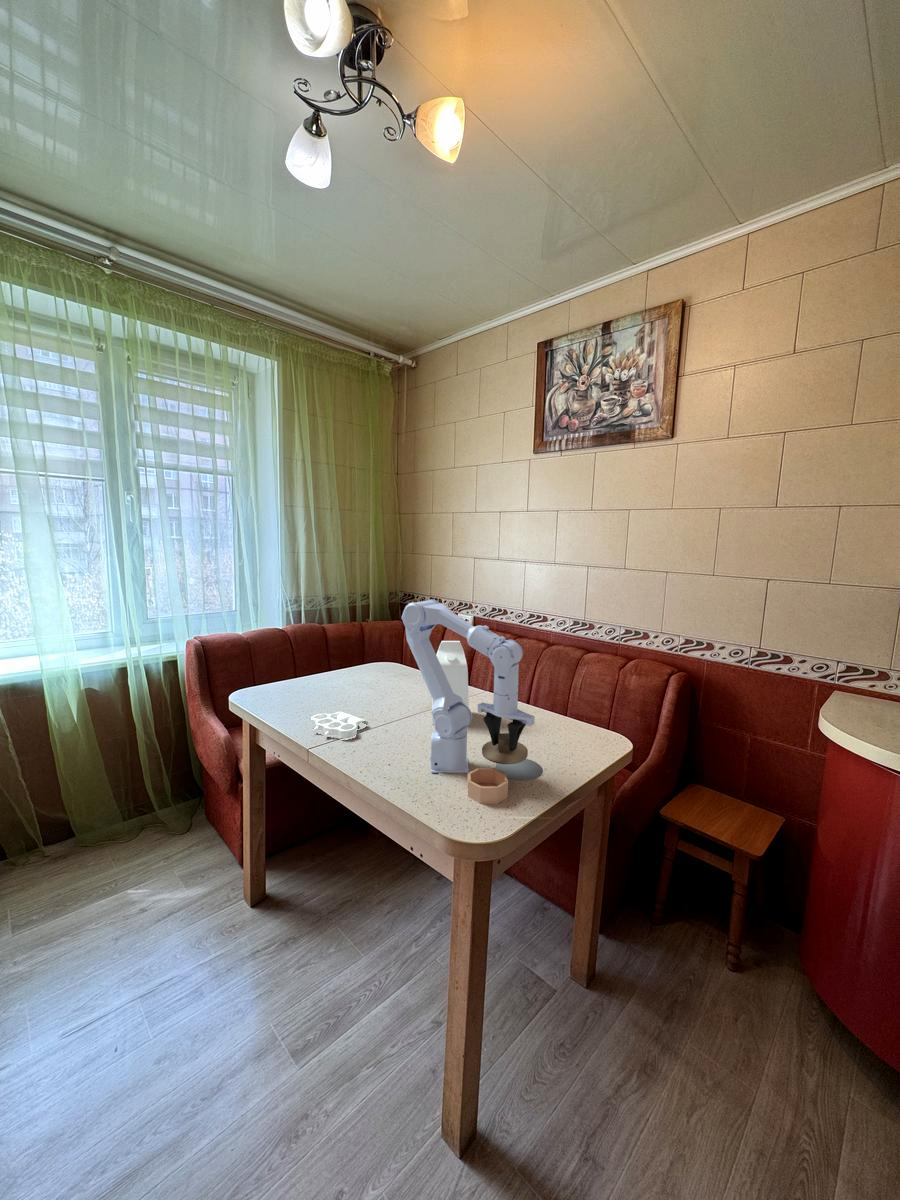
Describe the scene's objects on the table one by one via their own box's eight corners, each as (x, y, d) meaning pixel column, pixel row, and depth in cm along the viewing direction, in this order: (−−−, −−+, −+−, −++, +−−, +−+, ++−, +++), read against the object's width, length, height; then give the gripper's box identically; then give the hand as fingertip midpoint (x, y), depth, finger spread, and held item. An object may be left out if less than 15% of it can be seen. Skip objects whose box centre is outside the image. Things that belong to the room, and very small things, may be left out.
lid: (483, 764, 103) (483, 746, 103) (480, 742, 114) (480, 726, 114) (531, 764, 103) (531, 746, 103) (523, 742, 114) (524, 726, 114)
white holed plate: (375, 730, 140) (337, 746, 128) (337, 716, 151) (300, 730, 139) (375, 720, 139) (337, 735, 128) (337, 707, 150) (299, 720, 139)
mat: (497, 781, 109) (497, 780, 109) (493, 758, 121) (493, 757, 121) (547, 782, 109) (547, 780, 109) (538, 759, 121) (538, 757, 121)
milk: (466, 711, 155) (467, 637, 152) (469, 724, 144) (470, 645, 141) (432, 711, 155) (432, 637, 152) (431, 724, 144) (432, 645, 141)
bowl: (468, 804, 99) (468, 787, 99) (467, 783, 108) (467, 767, 108) (509, 805, 99) (509, 788, 99) (504, 783, 108) (505, 768, 108)
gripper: (541, 694, 105) (539, 749, 107) (488, 682, 114) (487, 733, 116) (527, 702, 100) (525, 760, 101) (473, 689, 109) (472, 742, 110)
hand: (504, 746), depth 108 cm, fingers closed on lid, 4 cm apart
